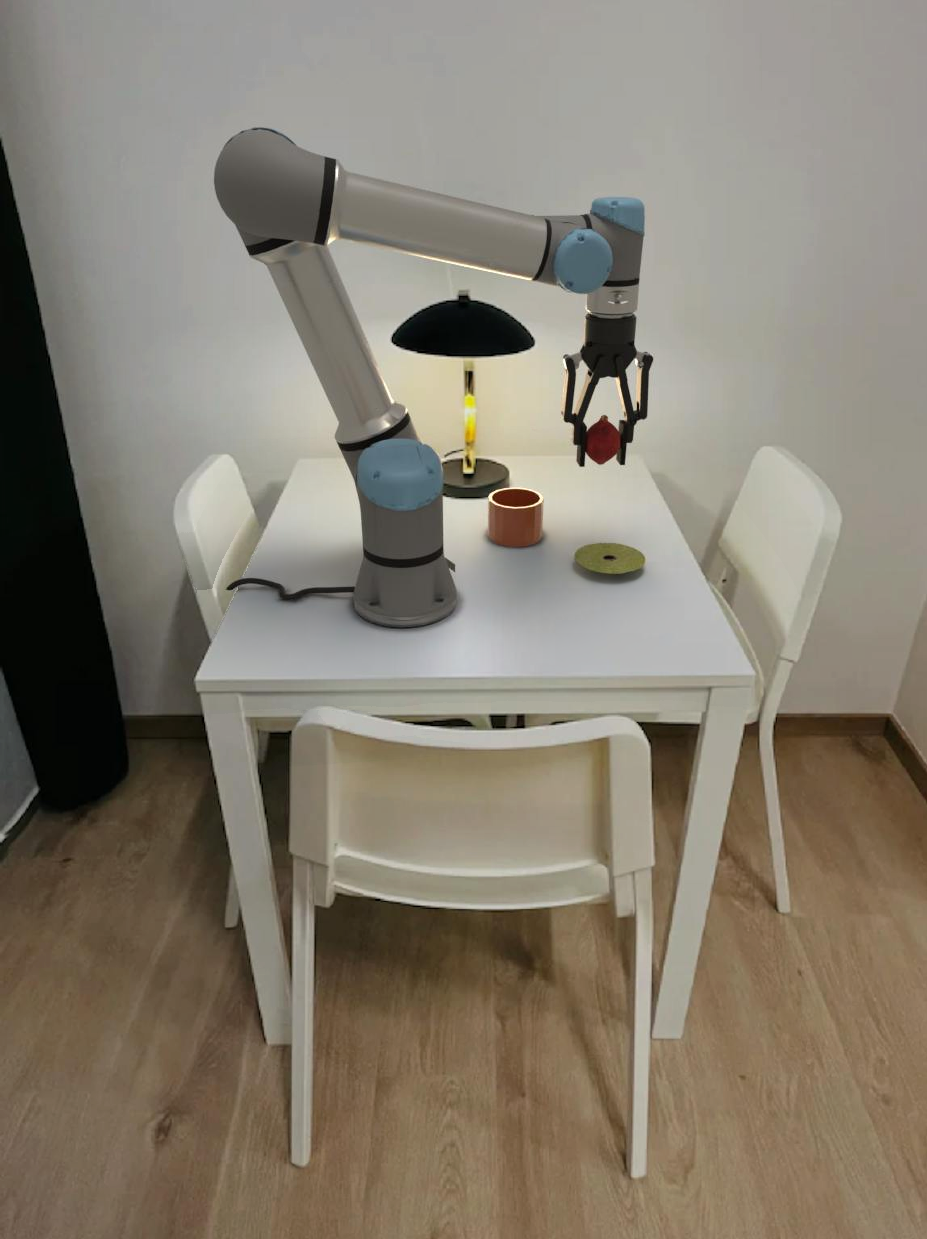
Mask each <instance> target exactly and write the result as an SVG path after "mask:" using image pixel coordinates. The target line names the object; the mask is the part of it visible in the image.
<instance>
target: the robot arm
mask: <svg viewBox="0 0 927 1239" xmlns="http://www.w3.org/2000/svg"><path fill="white" fill-rule="evenodd" d="M213 186H214V192H215V196H216V199H217V201H218V204H219V206H220V208H221V209H222V212H224V214H225V216H226V217H227V218H228V219H229V220H230V221H231V222H232V224H234V225H235V228H236V230H237V232H238V234H239V236H240V239H241V240H242V243H243V245H244V247H245V249H246V251H247V253H248V255H249V257H250V258H251V259H253V260H255V261H258V262H260V263H262V264H264V265H265V266H266V267H267V269H268V272H269V274H270V276H271V278H272V280H273V283H274V285H275V287H276V290H277V292H278V293H279V296H280V299H281V300H282V302H283V304H284V307H285V308H286V311H287V313H288V315H289V317H290V319H291V320H290V321H291V322H292V324H293V326H294V329H295V330H296V333H297V335H298V336H299V339H300V341H301V343H302V345H303V348H304V350H305V352H306V355H307V357H308V358H309V361H310V363H311V364H312V368H313V370H314V372H315V374H316V376H317V378H318V380H319V383H320V385H321V387H322V389H323V391H324V394H325V396H326V398H327V400H328V402H329V404H330V407H331V408H332V410H333V413H334V415H335V418H336V420H337V421H338V425H337V428H336V430H335V433H334V439H335V441H336V444H337V446H338V448H339V450H340V452H341V455H342V456H343V459H344V461H345V462H346V466H347V467H348V470H349V472H350V474H351V476H352V479H353V482H354V485H355V490H356V494H357V498H358V499H357V500H358V503H359V509H360V511H359V512H360V521H361V523H360V524H361V537H362V553H363V554H362V555H363V556H362V562H361V564H360V569H359V572H358V574H357V579H356V582H355V585H353V586H320V587H319V586H317V587H316V586H315V587H308V588H303V589H300V590H298V591H296V592H292V593H286V590H285V587H284V586H283V585H282V584H281V583H278V582H275V581H272V580H268V579H263V578H260V577H259V578H257V577H245V578H240V579H236V580H235V581H233V582H231V583H230V584H229V585H228V586H227V587H226V588H225V590H226V591H233V590H234V589H236V588H238V587H240V586H243V585H247V584H248V585H260V586H265V587H269V588H272V589H275V590H278V595H279V597H280V598H281V600H286V601H294V600H296V599H299V598H301V597H304V596H306V595H311V594H312V595H313V594H345V593H346V594H347V593H349V594H351V593H353V606H354V609H355V612H356V613H357V614H358V615H359V616H360V617H361V618H363V619H364V620H366V621H368V622H371V623H373V624H376V625H380V626H385V627H391V628H392V627H393V628H413V627H421V626H426V625H429V624H434V623H436V622H438V621H440V620H443V619H444V618H446V617H447V616H449V615H450V614H451V613H452V612H453V611H454V610H455V608H456V606H457V602H458V598H457V597H458V596H457V595H458V594H457V593H458V592H457V587H456V584H455V581H454V578H453V575H452V573H451V571H452V572H454V573H456V564H455V563H454V562H452V561H451V560H449V559H448V558H447V557H445V552H444V551H445V550H444V496H443V495H444V482H445V473H444V469H443V464H442V459H441V456H440V455H439V453H438V452H437V451H436V450H435V449H434V448H433V447H432V446H431V445H429V444H427V443H423V442H422V440H421V438H420V436H419V434H418V432H417V430H416V427H415V425H414V423H413V420H412V418H411V416H410V414H409V410H408V408H407V406H406V405H405V404H403V403H401V402H400V401H399V402H398V401H396V400H393V398H392V397H391V394H390V391H389V389H388V386H387V385H386V382H385V380H384V377H383V375H382V372H381V370H380V368H379V365H378V363H377V360H376V358H375V356H374V354H373V351H372V348H371V346H370V344H369V341H368V340H367V339H368V338H367V337H366V334H365V332H364V330H363V327H362V325H361V322H360V320H359V318H358V315H357V313H356V310H355V308H354V305H353V303H352V301H351V299H350V296H349V293H348V291H347V289H346V287H345V285H344V284H345V283H344V282H343V280H342V277H341V275H340V272H339V270H338V268H337V265H336V263H335V260H334V258H333V255H332V254H331V253H332V252H331V251H330V249H329V246H328V245H330V244H331V243H333V242H334V241H336V240H337V241H344V242H348V243H353V244H358V245H363V246H367V247H372V248H377V249H382V250H387V251H391V252H396V253H401V254H405V255H410V256H413V257H421V258H424V259H428V260H433V261H438V262H443V263H447V264H452V265H457V266H462V267H466V268H471V269H476V270H480V271H486V272H489V273H490V272H491V273H495V274H499V275H505V276H508V277H509V276H510V277H513V278H518V279H523V280H528V281H533V282H535V283H540V284H544V285H549V286H552V287H553V286H554V287H558V288H561V289H562V290H563V291H565V292H567V293H570V294H575V295H586V298H585V310H586V311H587V312H588V313H586V315H585V316H584V329H583V330H584V331H583V342H582V343H583V344H582V346H581V348H580V350H579V352H576V353H573V354H564V355H563V356H562V363H563V366H564V380H563V388H562V389H563V391H562V397H561V407H560V417H561V418H562V420H563V421H564V423H569V424H571V437H570V438H571V443H572V444H573V446H576V458H575V460H576V461H575V462H576V463H577V465H578V466H579V468H584V467H586V465H585V464H586V436H587V430H588V425H587V424H586V423H585V417H586V415H587V412H588V409H589V407H590V404H591V402H592V398H593V395H594V392H595V390H596V387H597V386H598V384H599V382H600V379H605V378H614V379H615V384H616V387H617V391H618V396H619V400H620V404H621V409H622V413H623V417H624V419H619V420H618V429H617V430H618V432H619V434H620V448H619V451H618V452H617V454H616V455H615V456H616V457H615V460H616V461H617V462H618V464H619V465H620V466H626V458H627V445H628V444H632V443H633V441H634V433H635V426H636V425H637V423H638V422H639V421H640V420H643V421H644V420H646V419H647V418H648V413H649V412H648V408H649V385H650V384H649V381H650V370H651V368H652V365H653V363H654V356H653V355H651V354H650V353H649V352H648V351H639V350H637V348H636V345H635V344H636V343H635V340H636V330H637V329H636V328H637V320H638V319H637V316H636V315H635V313H636V311H637V310H638V306H639V304H638V303H639V290H640V279H641V278H640V277H641V276H640V275H641V265H642V257H643V246H644V237H645V236H646V234H645V224H646V223H645V221H646V220H645V219H646V216H645V214H646V212H645V210H646V209H645V204H644V203H643V201H642V200H641V199H639V198H636V197H630V196H629V197H628V196H606V197H597V198H595V199H594V200H593V201H592V202H591V207H590V210H589V213H584V214H579V215H578V214H577V215H575V214H574V215H535V214H527V213H523V212H520V211H516V210H510V209H507V208H503V207H498V206H494V205H491V204H486V203H481V202H477V201H473V200H468V199H465V198H460V197H456V196H452V195H449V194H443V193H440V192H435V191H430V190H428V189H427V190H426V189H423V188H418V187H414V186H411V185H406V184H401V183H397V182H393V181H388V180H384V179H381V178H377V177H372V176H369V175H365V174H359V173H355V172H351V171H347V170H346V169H345V168H344V166H343V165H342V164H341V162H340V160H339V159H337V158H333V157H329V156H324V155H321V154H317V153H314V152H311V151H309V150H307V149H305V148H302V147H300V146H298V145H297V144H296V143H295V142H294V141H293V140H292V139H291V138H290V137H288V136H287V135H285V134H284V133H282V132H280V131H278V130H276V129H274V128H271V127H264V126H263V127H262V126H254V127H251V128H249V129H244V130H241V131H239V132H238V133H237V134H234V135H233V136H231V137H230V138H229V139H228V140H227V142H226V143H224V145H223V147H222V149H221V150H220V153H219V155H218V157H217V159H216V162H215V166H214V173H213ZM634 360H635V365H636V366H637V367H636V388H635V389H636V390H635V391H636V392H635V410H634V406H633V402H632V397H631V392H630V387H629V382H628V381H629V380H628V376H627V371H626V370H627V369H628V368H629V366H631V364H632V363H633V361H634ZM582 361H583V363H584V364H585V366H586V368H587V371H586V374H585V378H584V381H583V385H582V388H581V390H580V393H579V397H578V399H577V402H576V404H575V407H574V401H575V400H574V399H575V390H576V380H577V370H578V369H579V368H580V363H581V362H582ZM573 408H574V410H573Z"/></svg>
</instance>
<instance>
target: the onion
mask: <svg viewBox="0 0 927 1239" xmlns="http://www.w3.org/2000/svg"><path fill="white" fill-rule="evenodd" d="M618 430H619V429H618V428H617V427H616V425H614V424H613V423H611V422H610V421H609V416H608V415H606V414H603V415H601V416H600V417H599V419H598V420H597V421H596V422H594V423H593V424H592V425H590V426H589V428H587V436H586V452H585V455H587V456H588V458H589V459H590V460H592V461H593V462H594V463H595V464H597V465H599V466H602V465H605V464H606V463H608V462H609V461H610V460H612V459H613V458H614V457H615V456H616V455H617V452H618V451H619V448H620V434H619V432H618Z"/></svg>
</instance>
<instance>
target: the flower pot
mask: <svg viewBox="0 0 927 1239" xmlns="http://www.w3.org/2000/svg"><path fill="white" fill-rule="evenodd" d="M544 500H545V499H544V496H543V494H541V493H540V492H538V491H536V490H534V489H530V488H525V487H505V488H501V489H500V488H499V489H496V490H494V491H492V492H491V493H489V495H488V496H487V537H488V539H489V540H490V541H492V543H494V544H497V545H499V546H503V547H510V548H523V547H529V546H533V545H535V544H537V543H538V542H540V541H541V539H542V537H543V536H542V535H543V527H544V526H543V525H544V524H543V523H544V522H543V521H544V505H545V504H544V502H545V501H544Z"/></svg>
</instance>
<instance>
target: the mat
mask: <svg viewBox="0 0 927 1239" xmlns="http://www.w3.org/2000/svg"><path fill="white" fill-rule="evenodd" d="M573 557H574V560H575V562H576V563H577V564H579V565H580V566H582V567H583V568H585V569H587V570H589V571H592V572H595V573H596V572H597V573H601V574H602V573H603V574H610V575H611V574H612V575H616V574H617V575H620V574H626V573H631V572H635V571H636V570H639V569H641V568H642V567H643V566H644V565H645V563H646V556H645V554H644V553H642V551H640V550H639V549H636V548H635V547H632V546H629V545H626V544H623V543H618V542H596V543H590V544H586V545H584V546H581V547H579V548H577V549H576V551H575V552H574V554H573Z"/></svg>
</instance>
